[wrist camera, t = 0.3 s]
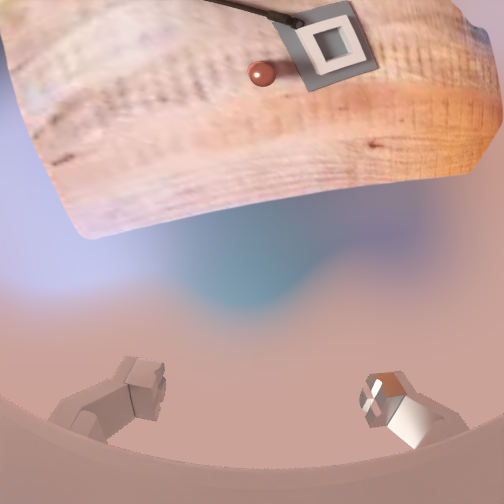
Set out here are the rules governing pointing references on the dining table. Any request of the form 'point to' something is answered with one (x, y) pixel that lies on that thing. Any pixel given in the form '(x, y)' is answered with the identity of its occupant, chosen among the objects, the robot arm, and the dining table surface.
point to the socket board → (327, 45)
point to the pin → (261, 74)
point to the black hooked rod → (264, 13)
